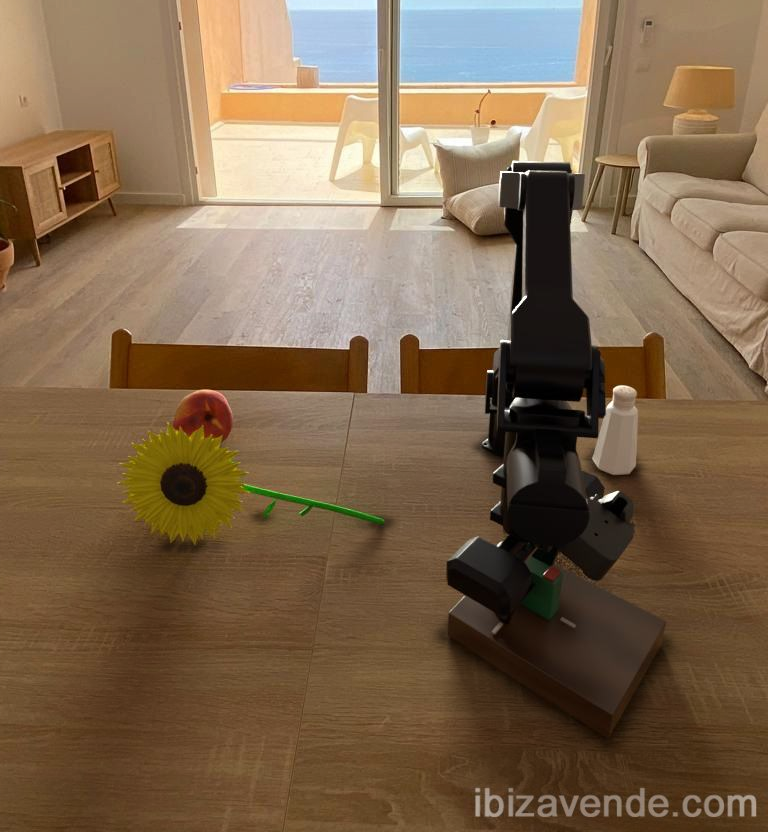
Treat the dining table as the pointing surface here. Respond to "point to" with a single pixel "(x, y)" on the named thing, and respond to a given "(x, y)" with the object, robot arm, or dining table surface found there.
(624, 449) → the pepper shaker
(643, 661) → the dial panel
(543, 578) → the pointer knob
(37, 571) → the dining table surface
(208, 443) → the decorative plant
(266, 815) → the dining table surface
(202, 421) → the fruit
